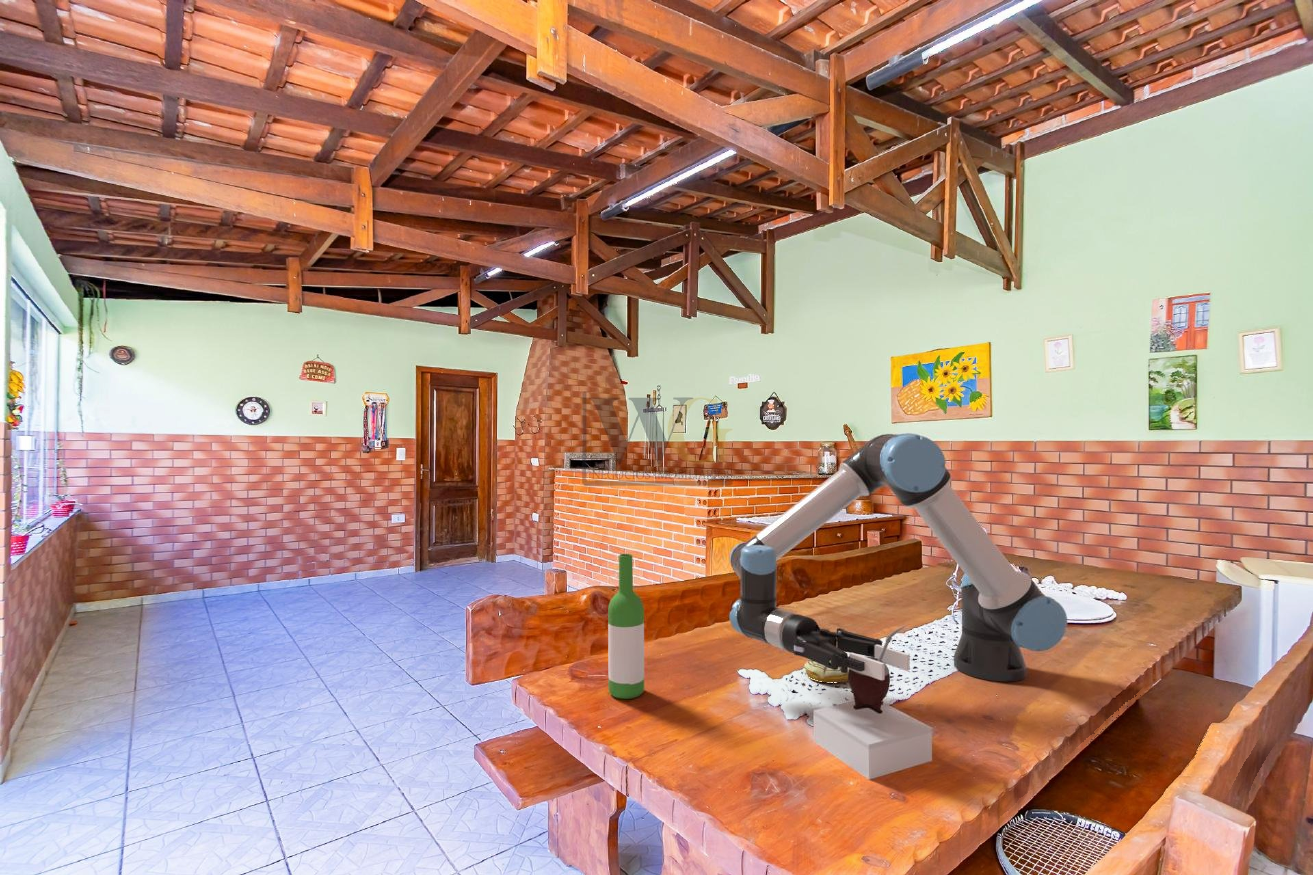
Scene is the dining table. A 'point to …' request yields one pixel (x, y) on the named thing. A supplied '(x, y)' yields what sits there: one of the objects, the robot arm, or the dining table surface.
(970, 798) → the dining table surface
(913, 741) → the storage box
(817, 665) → the decorated donut
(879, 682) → the mate gourd
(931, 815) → the dining table surface
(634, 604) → the wine bottle
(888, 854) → the dining table surface
